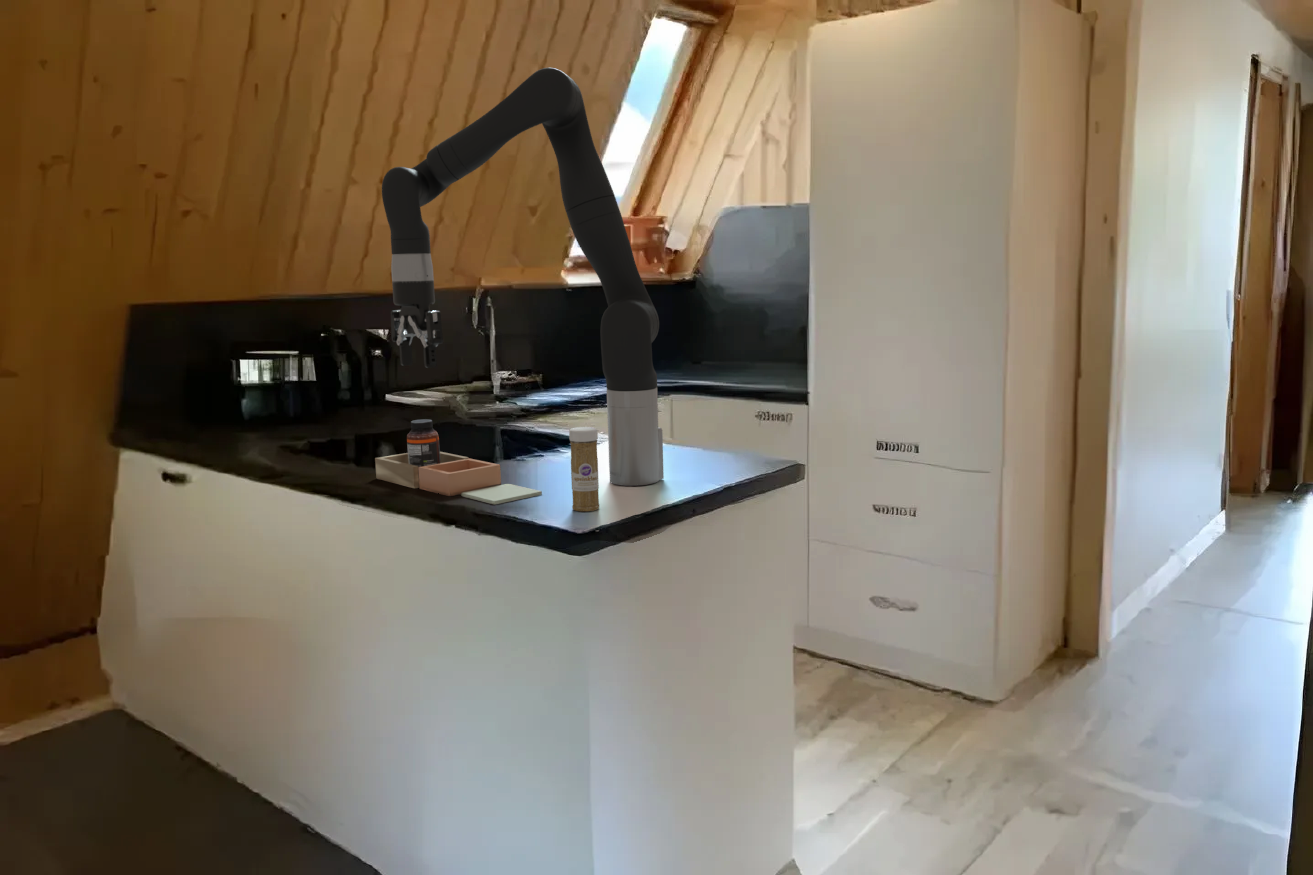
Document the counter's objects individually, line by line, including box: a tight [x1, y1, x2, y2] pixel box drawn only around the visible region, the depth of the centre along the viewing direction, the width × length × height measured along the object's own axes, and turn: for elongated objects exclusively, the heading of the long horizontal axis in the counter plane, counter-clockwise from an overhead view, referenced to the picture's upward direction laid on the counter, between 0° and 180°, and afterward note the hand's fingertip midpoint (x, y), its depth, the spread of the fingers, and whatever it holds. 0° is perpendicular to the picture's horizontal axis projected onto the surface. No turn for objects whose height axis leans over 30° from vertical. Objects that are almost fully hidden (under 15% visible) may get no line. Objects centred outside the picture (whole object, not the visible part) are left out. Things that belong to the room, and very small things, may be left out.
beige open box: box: [374, 451, 469, 489], centre depth 195 cm, size 12×14×4 cm
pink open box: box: [418, 458, 502, 497], centre depth 186 cm, size 11×10×4 cm
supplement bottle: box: [406, 418, 441, 476], centre depth 194 cm, size 6×6×11 cm
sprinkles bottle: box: [568, 426, 600, 513], centre depth 166 cm, size 5×5×13 cm
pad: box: [460, 483, 543, 505], centre depth 179 cm, size 10×10×1 cm
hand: (418, 366), depth 191 cm, fingers open, 8 cm apart
